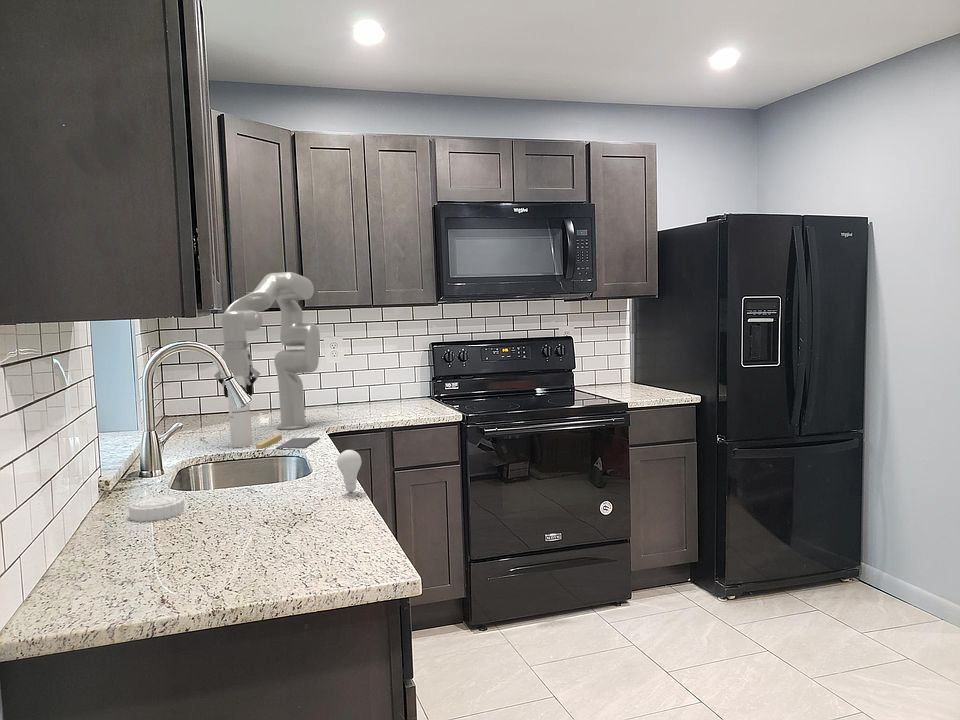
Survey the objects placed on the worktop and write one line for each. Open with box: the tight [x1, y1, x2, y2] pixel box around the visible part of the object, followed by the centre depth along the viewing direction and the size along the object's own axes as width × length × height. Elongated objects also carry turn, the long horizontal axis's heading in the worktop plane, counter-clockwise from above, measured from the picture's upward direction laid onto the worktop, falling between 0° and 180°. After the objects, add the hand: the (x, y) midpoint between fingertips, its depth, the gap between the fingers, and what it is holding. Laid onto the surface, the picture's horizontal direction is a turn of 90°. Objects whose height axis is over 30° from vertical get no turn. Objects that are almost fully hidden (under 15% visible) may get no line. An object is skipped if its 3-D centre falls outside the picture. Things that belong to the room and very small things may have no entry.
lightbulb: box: [336, 449, 362, 494], centre depth 185 cm, size 6×6×11 cm
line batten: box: [255, 433, 283, 450], centre depth 258 cm, size 20×2×2 cm, turn 176°
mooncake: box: [128, 494, 185, 522], centre depth 173 cm, size 12×12×4 cm
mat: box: [275, 436, 321, 450], centre depth 257 cm, size 18×10×1 cm, turn 176°
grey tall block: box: [227, 376, 253, 448], centre depth 258 cm, size 7×7×25 cm
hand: (238, 396), depth 258 cm, fingers closed on grey tall block, 7 cm apart
